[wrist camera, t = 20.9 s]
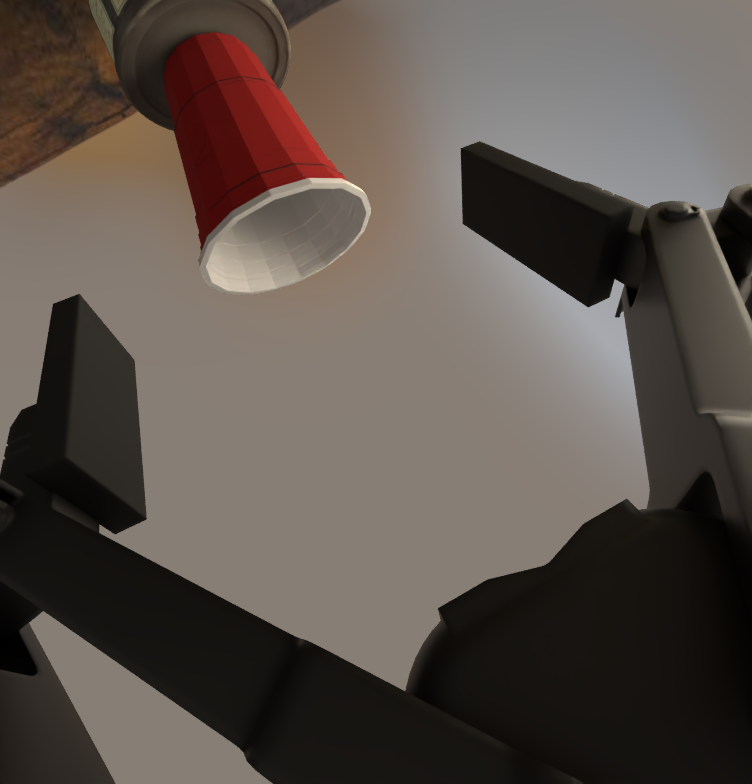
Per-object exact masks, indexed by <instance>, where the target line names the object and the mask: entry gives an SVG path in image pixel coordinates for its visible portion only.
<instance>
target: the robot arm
mask: <svg viewBox="0 0 752 784" xmlns="http://www.w3.org/2000/svg"><path fill="white" fill-rule="evenodd" d="M461 172H462V208H463V209H462V212H463V224H464V225H465V226H467V227H468V228H470V229H471V230H473V231H474V232H476V233H478V234H479V235H480V236H482V237H483V238H485V239H487V240H488V241H489V242H491V243H492V244H494V245H495V246H497V247H498V248H500V249H501V250H503V251H504V252H506V253H507V254H509V255H511V256H512V257H513V258H515V259H516V260H518V261H519V262H521V263H522V264H524V265H525V266H527V267H528V268H530V269H531V270H533V271H535V272H536V273H537V274H539V275H540V276H542V277H543V278H545V279H546V280H548V281H549V282H551V283H553V284H554V285H556V286H557V287H558V288H560V289H561V290H563V291H565V292H566V293H567V294H569V295H570V296H572V297H573V298H575V299H576V300H578V301H579V302H581V303H582V304H584V305H585V306H587V307H590V306H592V305H594V304H597V303H599V302H601V301H603V300H605V299H607V298H609V297H610V293H611V290H612V286H613V283H614V279H616V280H618V281H620V282H621V283H623V284H625V285H624V288H623V291H622V295H621V298H620V301H619V305H618V308H617V312H616V315H615V317H620V314H621V312H622V311H624V317H625V324H626V330H627V337H628V344H629V351H630V357H631V364H632V371H633V378H634V384H635V390H636V398H637V405H638V411H639V418H640V424H641V431H642V438H643V445H644V452H645V457H646V465H647V471H648V478H649V487H650V494H649V501H648V506H647V509H642V510H638V509H637V508H636V507H635V506H634V505H633V504H632V503H631V502H630V501H629V500H628V499H626V500H624V501H622V502H620V503H618V504H617V505H615V506H613V507H612V508H610V509H608V510H606V511H605V512H603V513H601V514H600V515H598V516H596V517H594V518H593V519H591V520H589V521H588V522H586V523H584V524H583V525H582V526H581V527H580V529H578V531H577V532H576V533H575V534H574V535H573V536H572V537H571V539H570V540H569V541H568V542H567V543H566V545H564V546H563V548H562V549H561V550H560V551H559V552H558V553H557V554H556V555H555V557H554V558H553V559H552V560H551V561H550V562H549V563H548V564H546V565H544V566H541V567H537V568H533V569H529V570H525V571H521V572H517V573H513V574H508V575H505V576H500V577H496V578H492V579H488V580H486V581H484V582H483V583H481V584H479V585H477V586H476V587H474V588H472V589H470V590H469V591H467V592H465V593H464V594H462V595H460V596H458V597H457V598H455V599H453V600H452V601H450V602H448V603H446V604H445V605H443V606H441V607H440V608H438V610H439V615H440V619H441V621H440V622H439V624H438V625H437V626H436V627H435V628H434V630H432V632H431V633H430V634H429V636H428V637H427V639H426V640H425V642H424V643H423V645H422V647H421V649H420V651H419V653H418V655H417V656H416V658H415V661H414V664H413V666H412V669H411V671H410V674H409V679H408V682H407V686H406V691H403V690H401V689H399V688H398V687H396V686H394V685H392V684H390V683H388V682H386V681H384V680H382V679H380V678H379V677H376V676H375V675H373V674H371V673H369V672H367V671H365V670H363V669H361V668H360V667H358V666H356V665H354V664H352V663H350V662H348V661H346V660H344V659H342V658H340V657H339V656H337V655H335V654H333V653H331V652H329V651H327V650H325V649H323V648H321V647H319V646H317V645H315V644H313V643H311V642H309V641H307V640H304V639H300V638H297V637H295V636H293V635H291V634H289V633H287V632H285V631H283V630H282V629H279V628H278V627H276V626H274V625H272V624H270V623H268V622H266V621H265V620H263V619H261V618H259V617H257V616H255V615H253V614H251V613H249V612H247V611H245V610H244V609H242V608H240V607H238V606H236V605H234V604H232V603H230V602H228V601H227V600H225V599H223V598H221V597H219V596H217V595H215V594H213V593H211V592H210V591H208V590H206V589H204V588H202V587H200V586H198V585H196V584H194V583H192V582H191V581H189V580H187V579H185V578H183V577H181V576H179V575H177V574H175V573H174V572H172V571H170V570H168V569H166V568H164V567H162V566H160V565H158V564H157V563H155V562H153V561H151V560H149V559H147V558H145V557H143V556H141V555H140V554H138V553H136V552H134V551H132V550H130V549H128V548H126V547H124V546H122V545H121V544H119V543H117V542H115V541H113V540H111V539H109V538H107V537H105V536H104V535H102V534H100V533H99V524H100V525H102V526H103V527H105V528H106V529H108V530H109V531H111V532H112V533H114V534H117V533H119V532H121V531H123V530H125V529H127V528H129V527H132V526H134V525H136V524H138V523H140V522H142V521H144V520H146V519H147V518H146V505H145V492H144V479H143V466H142V453H141V441H140V427H139V414H138V401H137V388H136V376H135V375H136V374H135V361H134V359H133V358H132V357H131V355H130V354H129V353H128V352H127V351H126V349H125V348H124V347H123V346H122V345H121V343H120V342H119V341H118V340H117V339H116V338H115V336H114V335H113V334H112V333H111V332H110V330H109V329H108V328H107V327H106V325H105V324H104V323H103V322H102V321H101V319H100V318H99V317H98V316H97V315H96V313H95V312H94V311H93V310H92V308H91V307H90V306H89V305H88V304H87V302H86V301H85V300H84V299H83V298H82V297H81V295H80V294H78V295H75V296H73V297H70V298H67V299H65V300H62V301H60V302H57V303H54V304H53V307H52V314H51V320H50V326H49V332H48V338H47V344H46V350H45V356H44V362H43V368H42V374H41V380H40V386H39V392H38V398H37V404H35V405H32V406H30V407H27V408H25V409H23V410H21V412H20V414H19V415H18V416H17V418H16V420H15V421H14V423H13V424H12V426H11V427H10V431H9V436H8V441H7V444H8V446H6V450H5V455H4V457H5V459H4V460H3V464H2V468H1V473H0V784H115V782H114V780H113V778H112V776H111V774H110V773H109V771H108V769H107V767H106V765H105V763H104V761H103V760H102V758H101V756H100V754H99V752H98V751H97V748H96V747H95V745H94V743H93V741H92V740H91V737H90V735H89V734H88V732H87V730H86V728H85V727H84V725H83V722H82V721H81V719H80V717H79V715H78V713H77V712H76V710H75V708H74V706H73V704H72V702H71V700H70V699H69V697H68V695H67V693H66V691H65V689H64V687H63V686H62V684H61V682H60V680H59V679H58V676H57V675H56V673H55V671H54V669H53V667H52V665H51V663H50V662H49V660H48V658H47V656H46V654H45V652H44V650H43V648H42V647H41V645H40V643H39V641H38V639H37V638H36V635H35V634H34V632H33V630H32V628H31V626H30V624H29V622H30V621H32V619H34V618H35V617H36V616H38V615H39V614H40V613H41V612H42V611H44V612H46V613H47V614H49V615H50V616H52V617H53V618H55V619H56V620H57V621H59V622H60V623H62V624H63V625H64V626H66V627H67V628H69V629H70V630H72V631H73V632H74V633H76V634H77V635H79V636H80V637H82V638H83V639H84V640H86V641H87V642H89V643H90V644H92V645H93V646H95V647H96V648H97V649H99V650H100V651H102V652H103V653H105V654H106V655H107V656H109V657H110V658H112V659H113V660H115V661H116V662H118V663H119V664H120V665H122V666H123V667H125V668H126V669H127V670H129V671H130V672H132V673H134V674H135V675H136V676H138V677H139V678H140V679H142V680H143V681H145V682H146V683H148V684H149V685H150V686H152V687H153V688H155V689H156V690H158V691H159V692H160V693H162V694H163V695H165V696H166V697H168V698H169V699H171V700H172V701H173V702H175V703H176V704H178V705H179V706H180V707H182V708H183V709H185V710H186V711H188V712H189V713H191V714H192V715H193V716H195V717H196V718H198V719H199V720H201V721H202V722H203V723H205V724H206V725H208V726H209V727H211V728H212V729H213V730H215V731H216V732H218V733H219V734H221V735H222V736H224V737H225V738H226V739H228V740H230V741H231V742H232V743H234V744H235V745H236V746H237V747H239V748H240V749H241V750H242V751H243V752H244V755H245V757H246V760H247V762H248V763H249V764H250V765H251V766H252V767H253V768H254V769H255V770H256V771H257V772H259V773H260V774H261V775H262V776H264V777H265V778H266V779H268V780H269V781H270V782H272V783H273V784H752V184H746V185H741V186H738V187H735V188H733V189H732V190H730V192H729V194H728V196H727V199H726V201H725V203H724V206H723V207H722V208H717V209H712V210H707V211H704V210H703V209H702V208H701V207H699V206H697V205H694V204H691V203H687V202H680V201H678V202H677V201H668V202H661V203H658V204H655V205H652V206H651V207H650V208H648V207H645V206H643V205H640V204H638V203H636V202H633V201H631V200H628V199H626V198H623V197H621V196H618V195H616V194H615V195H613V194H612V193H611V192H609V191H606V190H602V189H601V188H599V187H596V186H594V185H591V184H589V183H585V182H578V181H574V180H571V179H569V178H566V177H564V176H562V175H559V174H557V173H555V172H552V171H550V170H547V169H545V168H542V167H540V166H538V165H535V164H533V163H530V162H528V161H526V160H523V159H521V158H518V157H516V156H514V155H511V154H509V153H506V152H504V151H502V150H499V149H497V148H494V147H492V146H490V145H487V144H485V143H482V142H477V143H474V144H471V145H469V146H466V147H464V148H461Z"/></svg>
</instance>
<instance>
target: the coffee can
mask: <svg viewBox="0 0 752 784" xmlns="http://www.w3.org/2000/svg"><path fill="white" fill-rule="evenodd" d="M86 1H87V3H88V6H89V8H90V10H91V12H92V15H93V17H94V19H95V22H96V24H97V26H98V28H99V30H100V32H101V34H102V37H103V39H104V41H105V43H106V46H107V48H108V50H109V52H110V54H111V57H112V59H113V61H114V63H115V67H116V72H117V74H118V77H119V80H120V83H121V85H122V88H123V90H124V92H125V94H126V96H127V98H128V99H129V101H130V102H131V103H132V105H133V106H134V107H135V108H136V109H137V110H138V111H139V112H140V113H141V114H143V115H144V116H145V117H146V118H148V119H149V120H151V121H153V122H154V123H156V124H158V125H160V126H162V127H165V128H167V129H169V130H173V131H174V128H175V126H174V122H173V119H172V115H171V111H170V108H169V104H168V100H167V97H166V93H165V89H164V86H165V83H164V79H163V75H164V71H165V66H166V61H167V59H168V58H169V57H170V55H171V54H172V53H173V51H174V50H175V49H176V47H177V46H178V45H180V44H181V43H183V42H185V41H186V40H188V39H190V38H191V37H193V36H195V35H200V34H206V33H212V32H218V33H223V34H227V35H232V36H235V37H236V38H237V39H239V40H240V41H242V42H243V43H244V44H246V45H247V46H248V47H249V48H250V50H251V51H252V52H253V53H254V54H256V56H257V57H258V59H259V61H260V62H261V64H262V65H263V67H264V68H265V70H266V71H267V73H268V74H269V76H270V77H271V79H272V81H273V82H274V84H275V85H276V87H277V88H278V89H280V88H281V86H282V84H283V82H284V80H285V78H286V75H287V72H288V68H289V63H290V54H291V49H290V48H291V47H290V39H289V34H288V31H287V28H286V25H285V23H284V20H283V18H282V16H281V14H280V12H279V11H278V9H277V7H276V6H275V4H274V3H273V1H272V0H86Z"/></svg>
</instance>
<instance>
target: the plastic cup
mask: <svg viewBox="0 0 752 784" xmlns="http://www.w3.org/2000/svg"><path fill="white" fill-rule="evenodd" d="M163 79H164V83H165V86H164V89H165V93H166V97H167V100H168V104H169V108H170V111H171V115H172V119H173V122H174V126H175V128H174V133H175V137H176V140H177V144H178V148H179V151H180V155H181V159H182V163H183V167H184V171H185V174H186V178H187V182H188V186H189V189H190V193H191V197H192V200H193V205H194V208H195V212H196V216H195V218H196V222H197V226H198V229H199V239H200V242H201V247H200V248H201V254H200V257H199V260H198V261H199V267H200V270H201V273H202V275H203V278H204V280H205V283H206V285H208V286H210V287H212V288H214V289H216V290H218V291H220V292H222V293H224V294H241V295H250V294H256V293H262V292H268V291H273V290H277V289H280V288H282V287H285V286H288V285H291V284H293V283H296V282H299V281H302V280H304V279H305V278H307V277H309V276H311V275H313V274H315V273H316V272H318V271H320V270H322V269H323V268H325V267H327V266H329V265H330V264H331V263H332V262H334V261H335V260H336V259H337V258H339V257H340V256H341V255H342V254H344V253H345V252H346V251H347V250H349V249H350V248H351V247H352V245H353V244H354V243H355V242H356V240H357V239H358V238H359V237H360V235H361V234H362V233H363V232H364V230H365V228H366V226H367V222H368V220H369V217H370V214H371V211H372V210H371V207H370V204H369V201H368V198H367V195H366V193H365V192H364V191H363V190H362V189H361V188H359V187H357V186H355V185H353V184H351V183H350V182H348V181H347V180H346V179H345V177H344V176H343V174H341V173H340V172H338V171H337V169H336V167H335V166H334V165H333V163H332V162H331V161H330V160H328V159H327V157H326V156H325V155H324V153H323V152H322V150H321V148H320V147H319V146H318V144H317V143H316V141H315V140H314V139H313V137H312V135H311V134H310V133H309V131H308V129H307V128H306V126H305V125H304V124H303V122H302V121H301V119H300V118H299V116H298V115H297V113H296V112H295V110H294V109H293V107H292V106H291V104H290V103H289V101H288V100H287V99H286V97H285V96H284V94H283V93H282V91H281V90H280V89H278V88H277V87H276V85H275V84H274V82H273V81H272V79H271V77H270V76H269V74H268V73H267V71H266V70H265V68H264V67H263V65H262V64H261V62H260V61H259V59H258V57H257V56H256V54H254V53H253V52H252V51H251V50H250V48H249V47H248V46H247V45H246V44H244V43H243V42H242V41H240V40H239V39H237V38H236V37H235V36H232V35H227V34H223V33H218V32H212V33H206V34H200V35H195V36H193V37H191V38H190V39H188V40H186V41H185V42H183V43H181V44H180V45H178V46H177V47H176V49H175V50H174V51H173V53H172V54H171V55H170V57H169V58H168V59H167V61H166V66H165V71H164V75H163Z"/></svg>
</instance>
